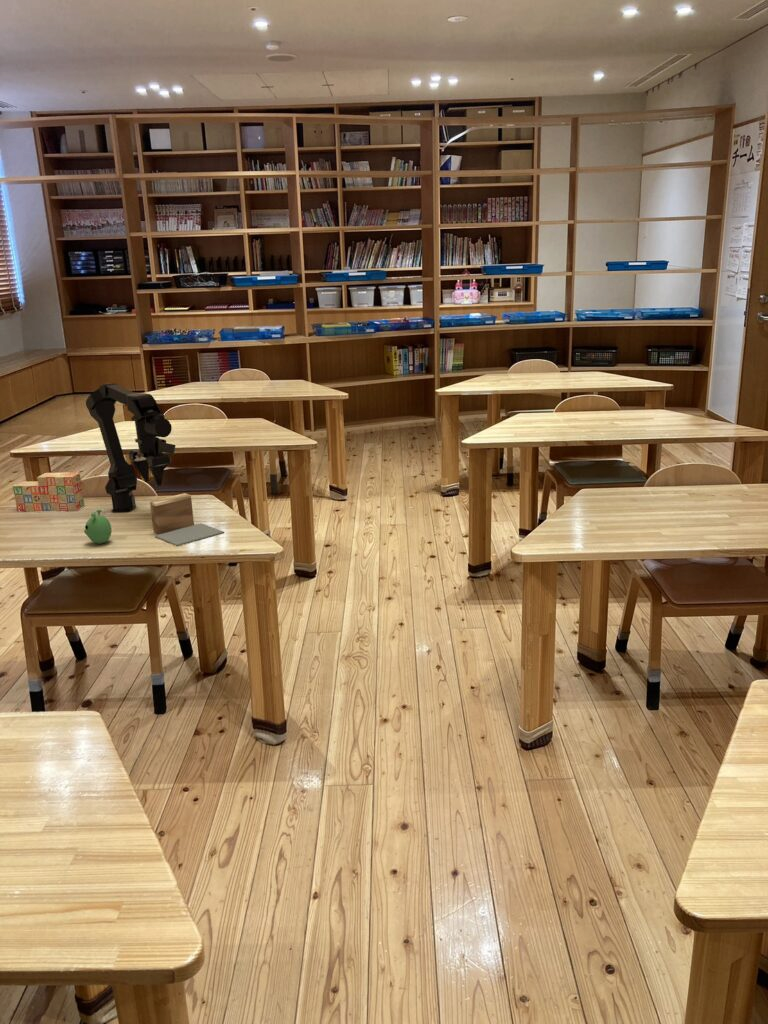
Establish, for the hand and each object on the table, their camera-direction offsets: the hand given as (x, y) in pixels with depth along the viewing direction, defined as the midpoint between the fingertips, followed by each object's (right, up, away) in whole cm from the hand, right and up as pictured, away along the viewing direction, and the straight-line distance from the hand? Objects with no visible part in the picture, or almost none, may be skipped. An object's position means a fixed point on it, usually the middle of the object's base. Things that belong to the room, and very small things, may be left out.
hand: (153, 483), depth 256 cm
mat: (+15, -16, -13) cm, 26 cm away
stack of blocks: (-41, -8, +20) cm, 46 cm away
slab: (+8, -14, -7) cm, 18 cm away
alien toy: (-11, -18, -18) cm, 28 cm away
